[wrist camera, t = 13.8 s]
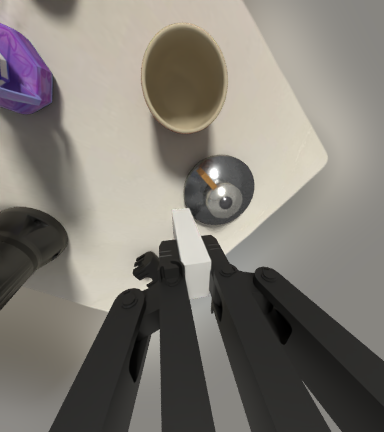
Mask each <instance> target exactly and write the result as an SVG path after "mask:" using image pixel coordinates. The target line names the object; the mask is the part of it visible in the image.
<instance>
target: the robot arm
mask: <svg viewBox="0 0 384 432" xmlns="http://www.w3.org/2000/svg"><path fill="white" fill-rule="evenodd" d="M172 221H173V234H174V240H168V241H162V242H161V244H160V246H159V264H160V265H159V266H158V269H157V273H158V281H157V282H156V283H155V284H154V285H153V286H152V287H150V288H148V289H146V290H144V291H141V290H140V289H136V288H132V289H128V290H125V291H123V292H122V293H121V294H119V295H118V296H117V298H116V299H115V301H114V303H113V305H112V307H111V309H110V311H109V313H108V315H107V317H106V319H105V321H104V323H103V325H102V327H101V329H100V331H99V333H98V335H97V337H96V339H95V341H94V343H93V345H92V347H91V349H90V351H89V353H88V355H87V357H86V359H85V361H84V363H83V364H82V367H81V369H80V370H79V372H78V375H77V376H76V379H75V381H74V382H73V384H72V386H71V389H70V390H69V392H68V394H67V396H66V398H65V400H64V402H63V404H62V406H61V408H60V410H59V412H58V414H57V416H56V418H55V421H54V423H53V424H52V426H51V428H50V430H49V432H128V429H129V425H130V420H131V416H132V412H133V408H134V404H135V400H136V396H137V392H138V388H139V383H140V379H141V375H142V371H143V367H144V362H145V358H146V354H147V350H148V346H149V342H150V338H151V334H152V333H154V332H156V331H157V330H159V329H160V364H161V411H162V412H161V416H162V432H215V427H214V422H213V417H212V412H211V406H210V401H209V396H208V391H207V386H206V381H205V376H204V371H203V366H202V361H201V356H200V351H199V346H198V341H197V336H196V330H195V325H194V321H193V315H192V310H191V305H190V299H196V298H202V297H207V296H209V291H210V293H211V296H212V303H211V313H213V310H214V313H215V317H216V320H217V323H218V326H219V329H220V333H221V336H222V339H223V342H224V346H225V349H226V352H227V355H228V358H229V362H230V365H231V368H232V371H233V374H234V377H235V381H236V384H237V387H238V390H239V394H240V397H241V400H242V403H243V406H244V409H245V413H246V416H247V419H248V422H249V426H250V429H251V432H331V430H330V429H329V427H328V425H327V424H326V422H325V420H324V418H323V416H322V415H321V413H320V411H319V409H318V408H317V406H316V404H315V403H314V401H313V399H312V397H311V396H310V394H309V392H308V390H307V389H306V387H305V385H306V386H307V387H308V389H309V390H310V391H311V392H312V393H313V395H314V396H315V398H316V399H317V400H318V401H319V403H320V404H321V405H322V407H323V408H324V409H325V410H326V412H327V413H328V414H329V415H330V417H331V418H332V419H333V421H334V422H335V423H336V425H337V426H338V427H339V429H340V430H341V431H342V432H384V361H383V360H382V359H381V358H379V357H378V356H377V355H376V354H374V353H373V352H372V351H371V350H370V349H368V348H367V347H366V346H365V345H364V344H363V343H361V342H360V341H359V340H358V339H357V338H356V337H354V336H353V335H352V334H351V333H349V332H348V331H347V330H346V329H345V328H344V327H342V326H341V325H340V324H339V323H338V322H336V321H335V320H334V319H333V318H332V317H330V316H329V315H328V314H327V313H326V312H325V311H323V310H322V309H321V308H320V307H319V306H317V305H316V304H315V303H314V302H312V301H311V300H310V299H309V298H308V297H307V296H305V295H304V294H303V293H302V292H301V291H300V290H298V289H297V288H296V287H295V286H293V285H292V284H291V283H290V282H289V281H288V280H286V279H285V278H284V277H283V276H282V275H280V274H279V273H278V272H276V271H275V270H274V269H271V268H268V267H259V268H257V269H256V271H255V273H249V272H242V271H239V270H238V269H237V268H236V267H235V266H233V265H232V264H230V263H229V262H228V260H227V258H226V256H225V254H224V252H223V251H222V249H221V247H220V245H219V243H218V241H217V240H216V238H214V237H213V236H212V235H206V236H201V235H200V233H199V230H198V228H197V226H196V223H195V221H194V218H193V216H192V214H191V211H190V209H189V208H182V209H172ZM66 245H67V234H66V231H65V230H64V228H63V227H62V225H61V224H60V223H59V222H58V221H57V220H56V219H54V218H53V217H51V216H50V215H48V214H46V213H44V212H42V211H39V210H36V209H32V208H27V207H13V208H9V209H6V210H3V211H1V212H0V310H1V309H2V308H3V307H4V305H6V303H7V302H8V301H9V300H10V299H11V298H12V297H13V295H14V294H15V293H16V292H17V291H18V290H19V289H20V287H21V286H22V285H23V284H24V283H25V282H26V280H27V279H28V278H29V277H30V276H31V275H32V274H33V273H34V271H35V270H37V269H38V268H40V267H42V266H43V265H45V264H47V263H49V262H50V261H52V260H54V259H55V258H57V257H58V256H59V255H60V254H61V253H62V251H63V250H64V249H65V247H66ZM302 381H303V382H304V383H305V385H304V384H303V382H302Z"/></svg>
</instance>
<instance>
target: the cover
mask: <svg viewBox="0 0 384 432" xmlns="http://www.w3.org/2000/svg"><path fill="white" fill-rule="evenodd" d="M213 182H214V183H215V184H216V185H217V187H216V188H214V189H212V188H211V187H210V186H209V185H207V186H206V187H205V189H204V192H203V201H204V203H205V205H206V206H207V208H208V209H209V211H210V212H211V214H212V215H213V216H215V217H217V218H228V217H230V216H232V215H234V214H235V213H236V212H237V211H238V210H239V208H240V207H241V204H242V194H241V192H240V190H239V189H238V188H237V187H235V186H234V185H232V184H231V183H229V182H228V181H226V180H224V179H217V180H214V181H213Z"/></svg>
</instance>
